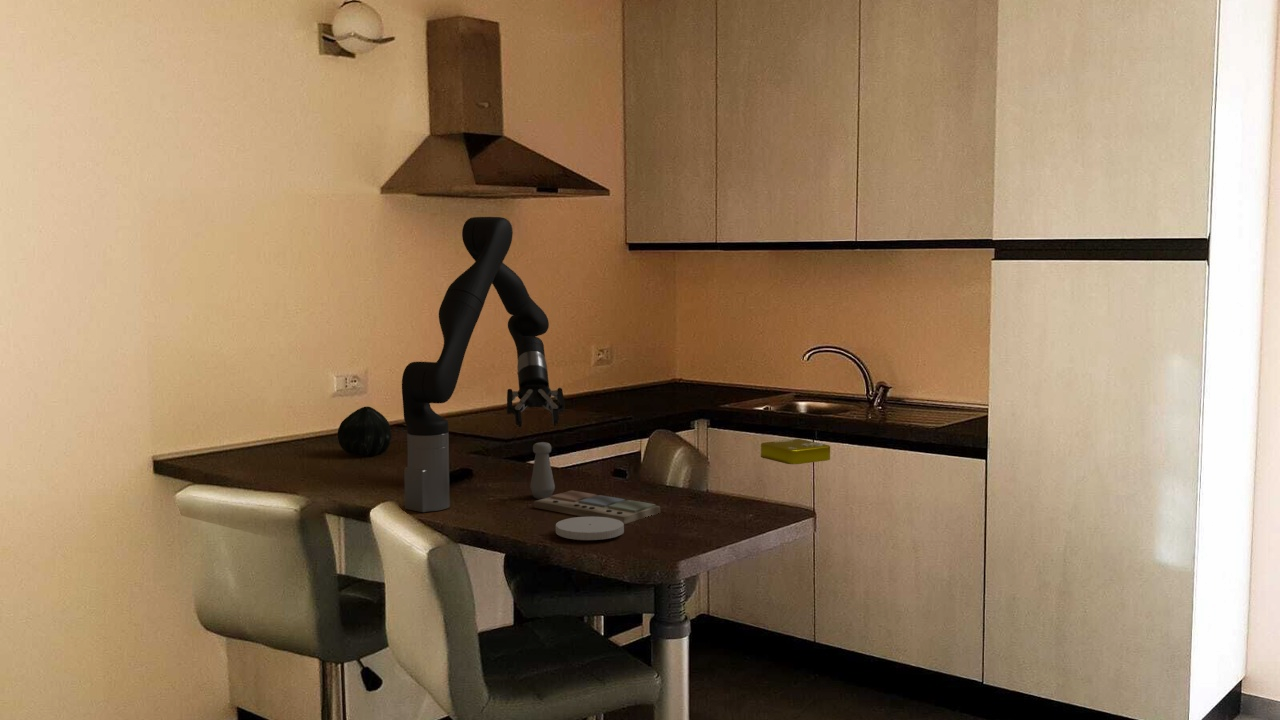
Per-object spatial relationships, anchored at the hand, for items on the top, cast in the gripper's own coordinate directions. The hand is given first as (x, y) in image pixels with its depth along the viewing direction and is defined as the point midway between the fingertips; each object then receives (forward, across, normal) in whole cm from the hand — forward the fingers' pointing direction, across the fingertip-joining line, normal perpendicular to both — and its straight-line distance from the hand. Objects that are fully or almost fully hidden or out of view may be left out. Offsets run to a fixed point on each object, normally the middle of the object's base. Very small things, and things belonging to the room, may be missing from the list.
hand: (537, 424), depth 278 cm
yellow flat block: (-8, +76, +31) cm, 82 cm away
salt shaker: (+18, 0, +4) cm, 19 cm away
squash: (-29, -44, +52) cm, 74 cm away
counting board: (+30, +10, -7) cm, 32 cm away
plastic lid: (+45, +6, -22) cm, 51 cm away
